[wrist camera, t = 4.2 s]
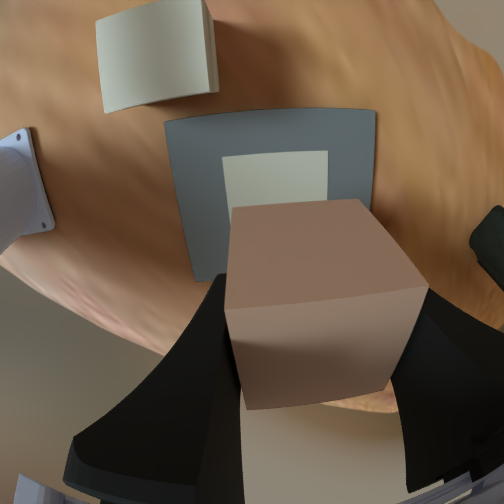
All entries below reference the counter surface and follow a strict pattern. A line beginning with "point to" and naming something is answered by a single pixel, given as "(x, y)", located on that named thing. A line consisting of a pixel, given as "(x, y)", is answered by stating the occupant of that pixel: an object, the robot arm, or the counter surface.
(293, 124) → the board
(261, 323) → the block brown
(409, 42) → the counter surface
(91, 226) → the counter surface
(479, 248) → the black and grey bottle
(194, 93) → the block cream
